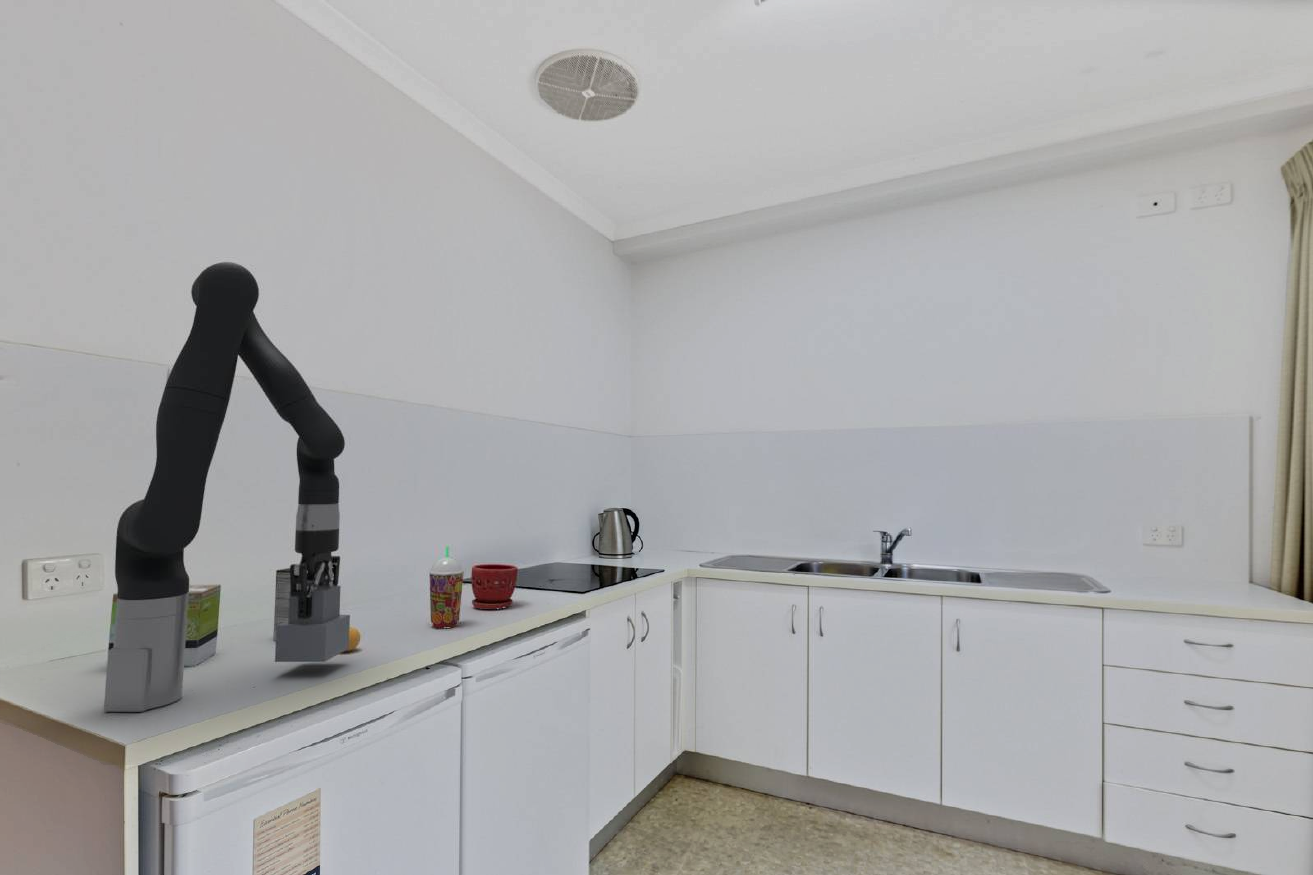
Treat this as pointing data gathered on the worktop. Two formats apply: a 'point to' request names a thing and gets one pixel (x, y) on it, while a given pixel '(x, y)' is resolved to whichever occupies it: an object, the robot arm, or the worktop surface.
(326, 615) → the stepped grey block
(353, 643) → the ball
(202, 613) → the tea box
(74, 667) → the worktop surface
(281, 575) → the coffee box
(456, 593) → the smoothie
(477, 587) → the plant pot
